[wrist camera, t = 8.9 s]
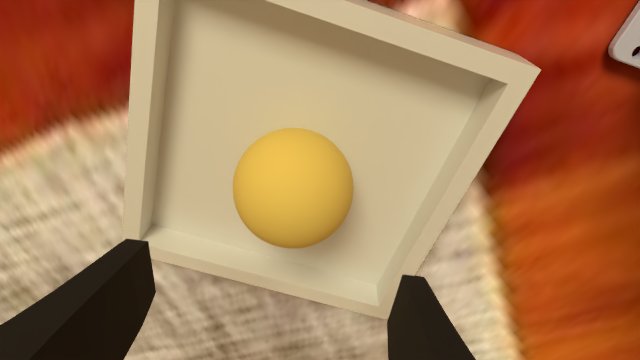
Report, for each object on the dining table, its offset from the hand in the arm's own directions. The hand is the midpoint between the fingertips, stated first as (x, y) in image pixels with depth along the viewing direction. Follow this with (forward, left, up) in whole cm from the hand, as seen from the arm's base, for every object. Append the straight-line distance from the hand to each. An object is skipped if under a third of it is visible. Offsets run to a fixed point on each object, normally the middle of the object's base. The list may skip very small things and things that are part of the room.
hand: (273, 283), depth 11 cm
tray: (0, 0, -8) cm, 8 cm away
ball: (0, 0, -8) cm, 8 cm away
